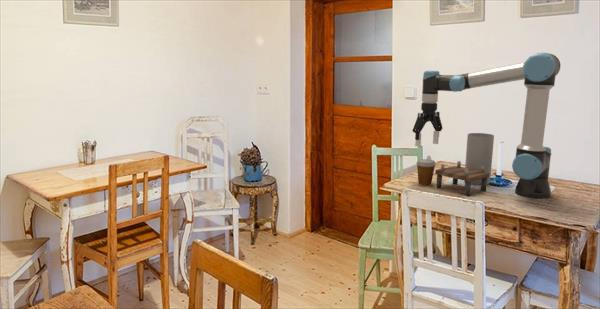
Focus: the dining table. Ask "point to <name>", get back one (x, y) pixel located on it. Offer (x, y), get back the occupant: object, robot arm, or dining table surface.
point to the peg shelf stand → (462, 176)
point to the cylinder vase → (479, 154)
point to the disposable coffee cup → (425, 171)
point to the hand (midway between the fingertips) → (426, 145)
